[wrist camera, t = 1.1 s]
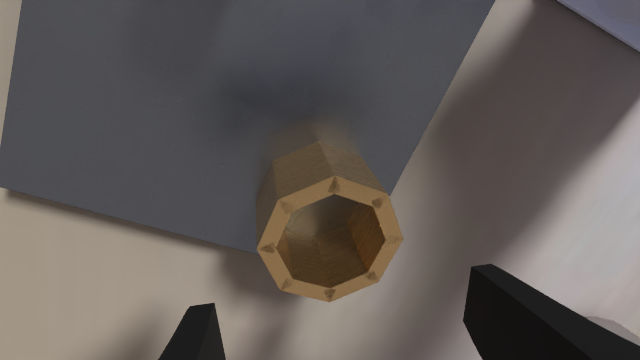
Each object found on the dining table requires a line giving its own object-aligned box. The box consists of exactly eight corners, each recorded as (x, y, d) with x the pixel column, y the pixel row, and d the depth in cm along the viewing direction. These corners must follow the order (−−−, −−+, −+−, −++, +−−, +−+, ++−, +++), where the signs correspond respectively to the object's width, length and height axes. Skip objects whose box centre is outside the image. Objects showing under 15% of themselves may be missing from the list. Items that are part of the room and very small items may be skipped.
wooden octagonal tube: (390, 168, 19) (422, 206, 16) (343, 257, 21) (362, 309, 17) (285, 129, 17) (294, 161, 14) (244, 229, 19) (242, 281, 16)
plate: (508, -59, 17) (640, -92, 11) (340, 261, 23) (370, 349, 17) (96, -327, 12) (-52, -641, 6) (14, 172, 18) (-103, 253, 12)
